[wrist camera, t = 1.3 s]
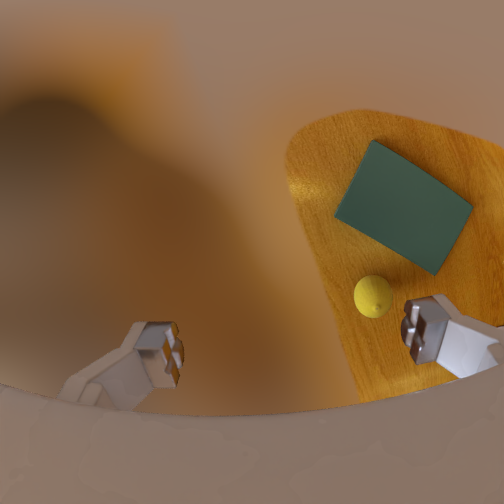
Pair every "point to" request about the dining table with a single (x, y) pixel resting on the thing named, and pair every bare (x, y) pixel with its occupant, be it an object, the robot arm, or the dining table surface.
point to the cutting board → (403, 208)
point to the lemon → (373, 296)
